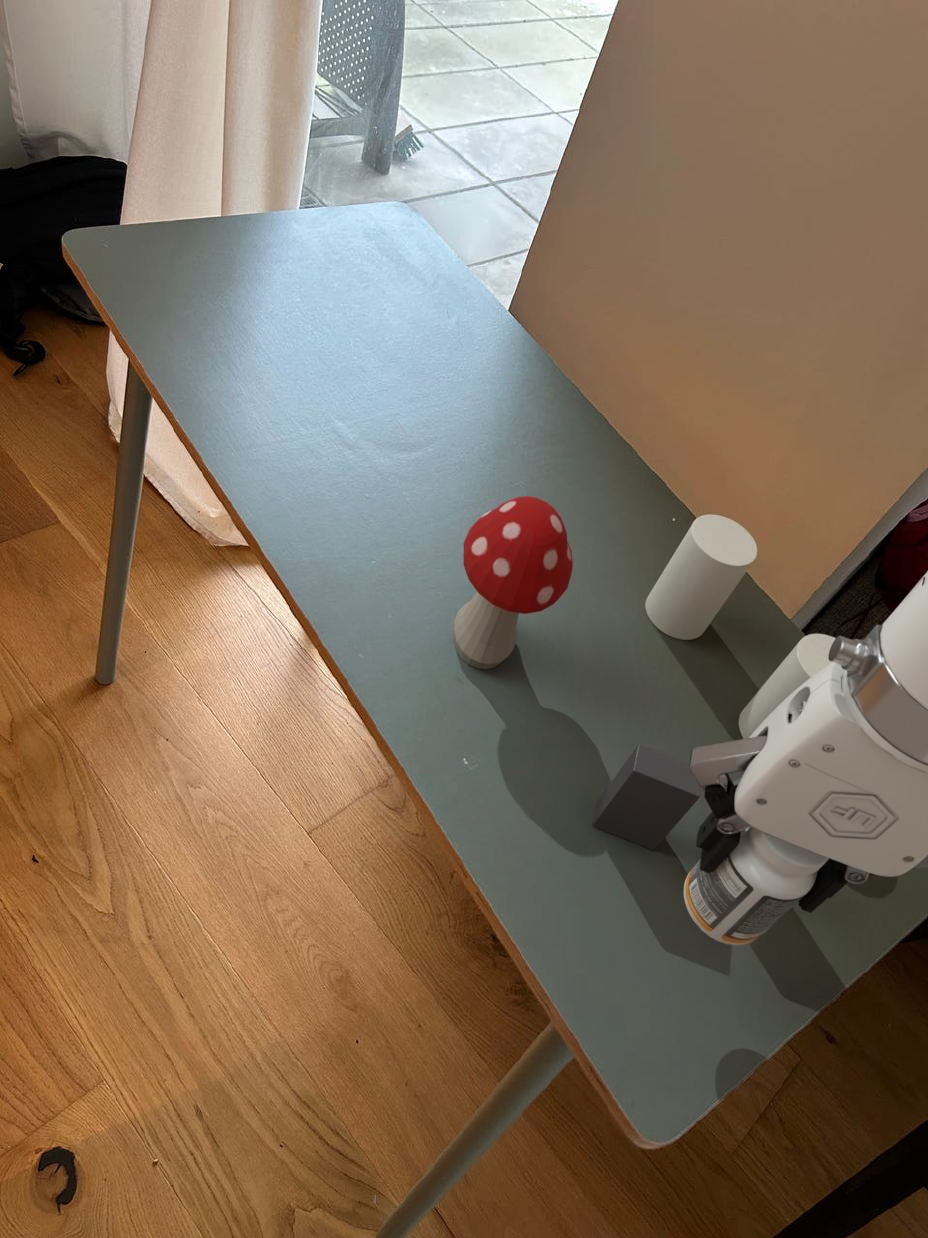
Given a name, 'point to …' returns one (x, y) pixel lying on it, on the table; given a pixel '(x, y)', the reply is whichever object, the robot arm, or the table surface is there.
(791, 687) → the white cylinder
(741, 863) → the pill bottle
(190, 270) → the table surface
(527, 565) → the decorative mushroom
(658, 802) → the dark grey rectangular block
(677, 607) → the white cylinder
